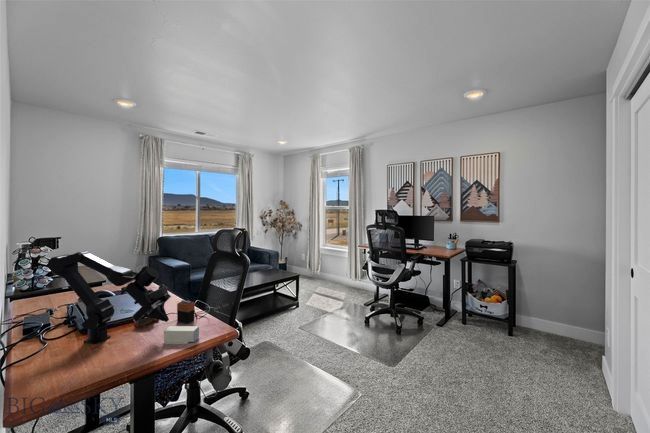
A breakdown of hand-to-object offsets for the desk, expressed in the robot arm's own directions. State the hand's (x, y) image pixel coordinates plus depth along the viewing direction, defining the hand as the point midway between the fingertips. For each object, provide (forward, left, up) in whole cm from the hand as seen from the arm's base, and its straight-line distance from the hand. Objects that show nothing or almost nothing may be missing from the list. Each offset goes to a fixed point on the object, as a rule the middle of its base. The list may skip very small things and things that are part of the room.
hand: (167, 320), depth 120 cm
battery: (-7, +18, -8) cm, 21 cm away
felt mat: (+5, +1, -8) cm, 9 cm away
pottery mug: (-22, +11, -8) cm, 26 cm away
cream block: (0, 0, -5) cm, 5 cm away
